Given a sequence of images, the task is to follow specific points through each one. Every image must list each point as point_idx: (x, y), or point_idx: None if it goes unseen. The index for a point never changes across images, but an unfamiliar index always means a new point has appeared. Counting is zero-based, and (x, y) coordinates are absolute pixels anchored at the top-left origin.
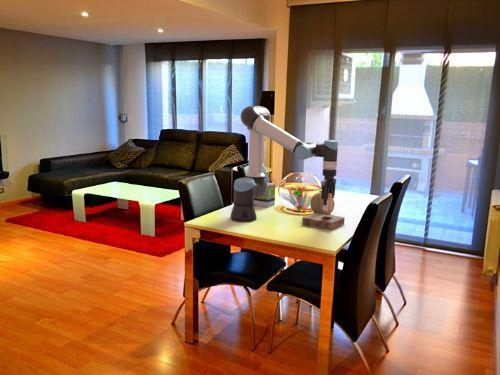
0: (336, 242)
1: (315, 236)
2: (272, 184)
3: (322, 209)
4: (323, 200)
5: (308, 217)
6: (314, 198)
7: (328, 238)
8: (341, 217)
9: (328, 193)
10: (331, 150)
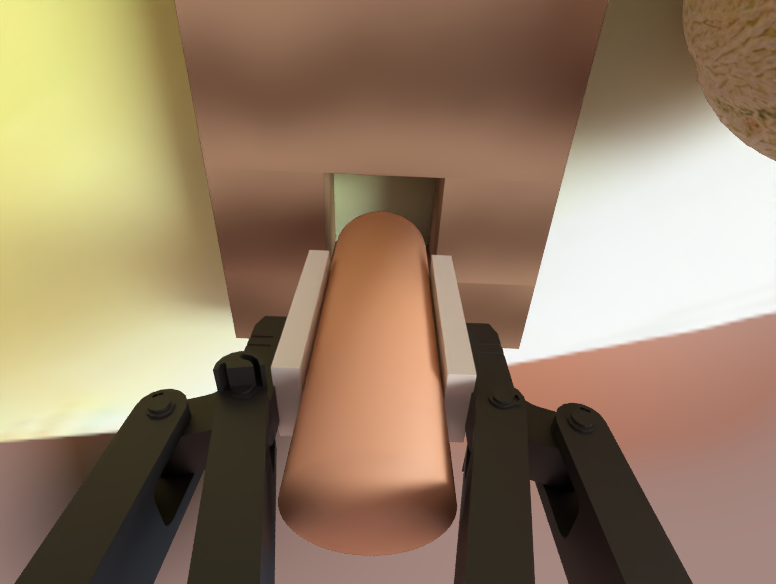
0: (52, 413)
1: (6, 273)
2: None
3: (689, 43)
4: (278, 348)
5: (231, 25)
6: None
7: (67, 355)
8: (501, 329)
9: (359, 514)
10: None
